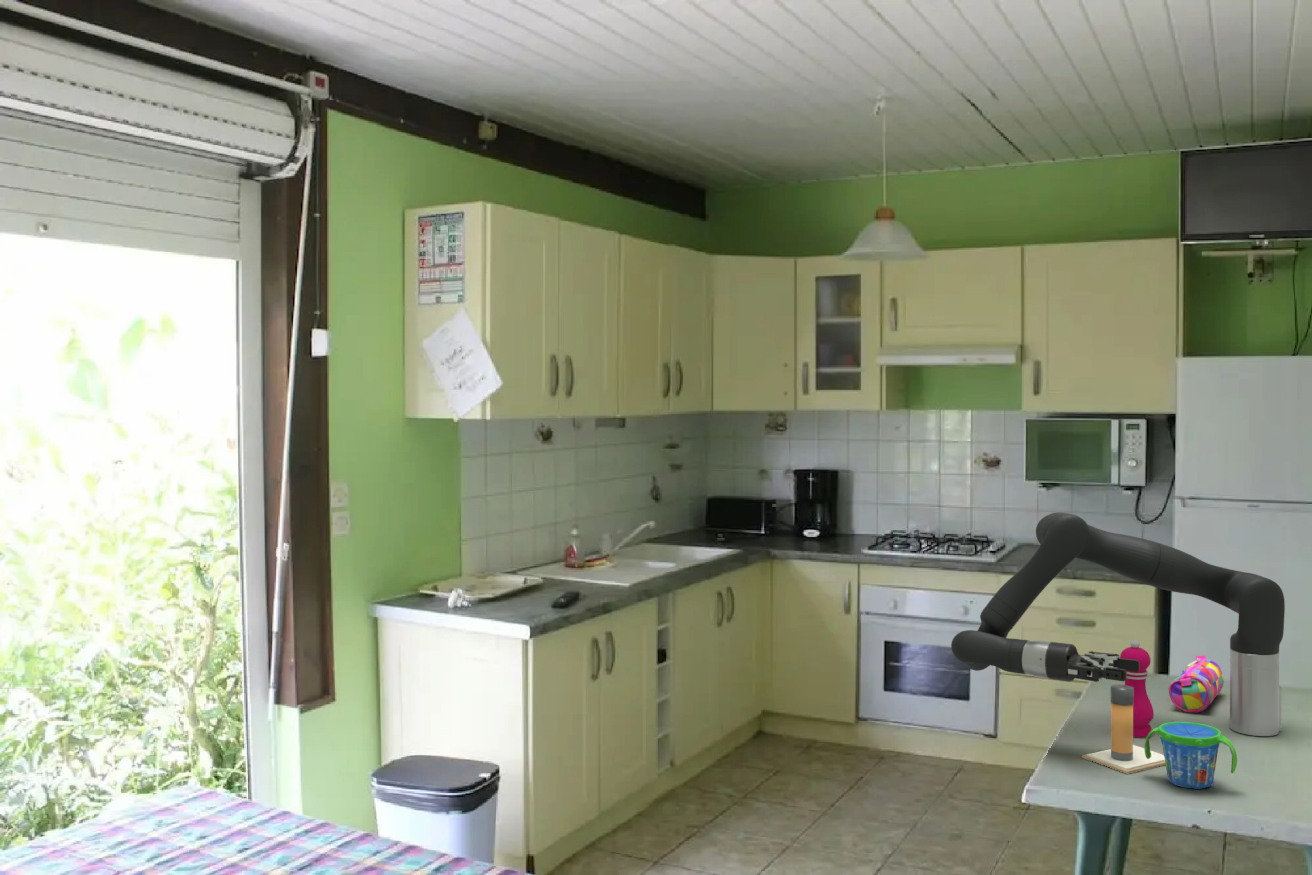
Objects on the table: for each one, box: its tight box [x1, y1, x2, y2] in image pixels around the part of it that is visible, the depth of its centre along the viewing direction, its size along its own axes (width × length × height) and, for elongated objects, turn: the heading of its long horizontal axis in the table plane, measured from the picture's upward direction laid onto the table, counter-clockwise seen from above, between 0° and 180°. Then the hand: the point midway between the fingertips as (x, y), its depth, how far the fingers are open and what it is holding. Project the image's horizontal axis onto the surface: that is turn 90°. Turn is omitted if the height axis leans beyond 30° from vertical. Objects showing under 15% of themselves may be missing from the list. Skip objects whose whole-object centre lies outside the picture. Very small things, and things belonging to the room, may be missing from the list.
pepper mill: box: [1119, 639, 1155, 738], centre depth 238 cm, size 7×7×20 cm
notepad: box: [1081, 744, 1166, 775], centre depth 222 cm, size 14×11×1 cm
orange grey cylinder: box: [1110, 684, 1134, 761], centre depth 220 cm, size 4×4×14 cm
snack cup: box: [1143, 721, 1238, 790], centre depth 208 cm, size 16×10×10 cm
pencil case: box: [1168, 655, 1224, 714], centre depth 260 cm, size 22×9×9 cm, turn 147°
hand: (1132, 670), depth 219 cm, fingers open, 8 cm apart
